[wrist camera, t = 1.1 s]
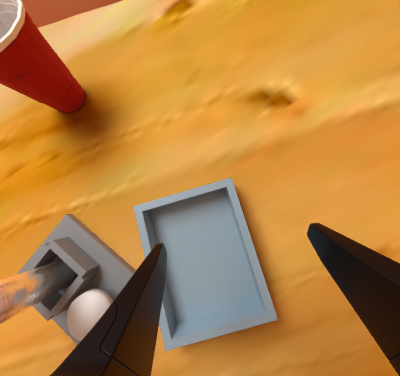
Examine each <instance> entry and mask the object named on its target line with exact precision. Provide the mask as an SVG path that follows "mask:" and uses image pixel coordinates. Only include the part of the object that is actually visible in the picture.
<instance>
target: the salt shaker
mask: <svg viewBox="0 0 400 376" xmlns="http://www.w3.org/2000/svg"><path fill="white" fill-rule="evenodd" d="M78 276H79V275H78V274H77V273H76V272H75V271H74V270H72V269H71V268H70V267H69V266H68V265H67V264H66V263H65V262H64V261H63V260H59V261H56V262H53V263H50V264H47V265H44V266H41V267H38V268H35V269H32V270H29V271H26V272H23V273H20V274H17V275H15V276H12V277H9V278H6V279H3V280H0V324H2V323H3V322H5V321H7V320H9V319H11V318H12V317H14V316H16V315H18V314H20V313H22V312H23V311H25V310H27V309H29V308H31V307H32V306H34V305H36V304H38V303H40V302H42V301H43V300H45V299H47V298H49V297H51V296H52V295H54V294H56V293H58V292H60V291H62V290H63V289H65V288H67V287H69V286H71V284H72V283H73V282H74V281H75V279H76V278H77V277H78Z"/></svg>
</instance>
